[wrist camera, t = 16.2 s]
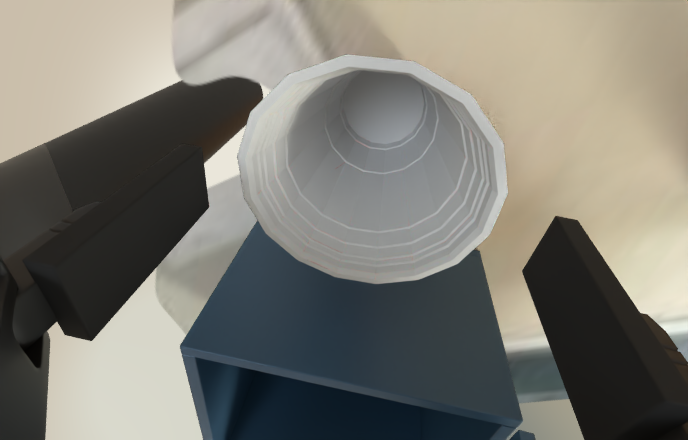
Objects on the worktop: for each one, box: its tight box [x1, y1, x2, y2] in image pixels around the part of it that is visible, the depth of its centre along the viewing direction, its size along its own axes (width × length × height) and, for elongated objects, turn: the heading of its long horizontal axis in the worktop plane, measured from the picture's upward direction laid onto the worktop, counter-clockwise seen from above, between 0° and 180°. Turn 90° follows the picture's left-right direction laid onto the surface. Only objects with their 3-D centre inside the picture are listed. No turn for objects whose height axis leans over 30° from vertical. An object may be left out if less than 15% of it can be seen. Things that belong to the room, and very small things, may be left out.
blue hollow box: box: [180, 220, 523, 440], centre depth 29 cm, size 19×18×14 cm
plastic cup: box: [237, 54, 508, 284], centre depth 19 cm, size 11×11×12 cm
